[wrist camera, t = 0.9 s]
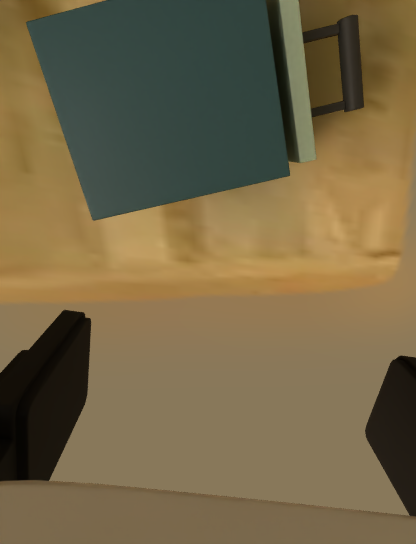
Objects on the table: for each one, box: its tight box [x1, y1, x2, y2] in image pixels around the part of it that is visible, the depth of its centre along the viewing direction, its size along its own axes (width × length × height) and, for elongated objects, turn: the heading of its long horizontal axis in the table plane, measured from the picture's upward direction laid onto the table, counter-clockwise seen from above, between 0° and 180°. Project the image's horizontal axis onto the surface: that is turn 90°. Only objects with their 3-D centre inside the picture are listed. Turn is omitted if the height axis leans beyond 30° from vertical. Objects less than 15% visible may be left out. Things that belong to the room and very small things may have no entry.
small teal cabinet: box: [26, 0, 290, 220], centre depth 27 cm, size 15×13×9 cm
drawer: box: [266, 0, 364, 163], centre depth 27 cm, size 18×11×7 cm, turn 103°
